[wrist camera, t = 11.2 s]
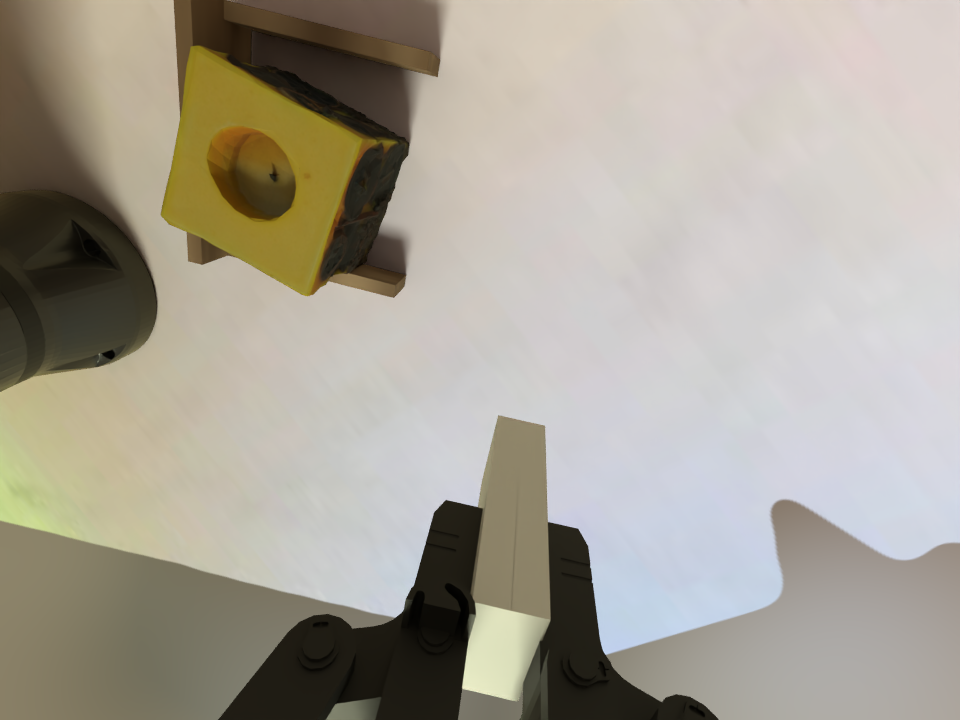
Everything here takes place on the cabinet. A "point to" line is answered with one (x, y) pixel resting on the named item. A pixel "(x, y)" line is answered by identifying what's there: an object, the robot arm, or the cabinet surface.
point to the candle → (278, 171)
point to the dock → (229, 31)
